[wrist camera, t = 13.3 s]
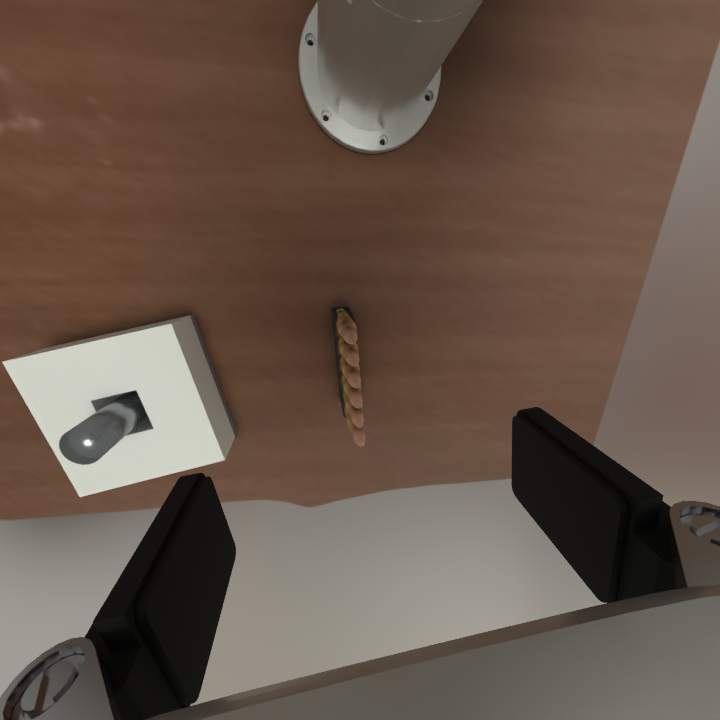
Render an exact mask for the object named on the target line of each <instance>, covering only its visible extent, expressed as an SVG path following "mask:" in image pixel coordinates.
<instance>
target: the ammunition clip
mask: <svg viewBox="0 0 720 720" xmlns="http://www.w3.org/2000/svg"><path fill="white" fill-rule="evenodd" d="M332 318H333V328H334V339H335V349H336V359H337V369H338V380H339V390H340V399H341V404H342V410H343V415H344V417H346V421H347V425H348V427H349V428H350V431H351V434H352V437H353V439H354V441H355V443H356V444H357V445H358V446H359V447H363V446H364V443H365V430H364V414H363V409H362V393H361V376H360V367H359V364H358V363H359V354H358V346H357V344H356V341H357V339H358V335H357V327H356V325H355V320H354V316H353V314H352V312H351V310H350V309H349V307H340V308H332Z"/></svg>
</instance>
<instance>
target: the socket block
mask: <svg viewBox="0 0 720 720" xmlns="http://www.w3.org/2000/svg"><path fill="white" fill-rule="evenodd" d="M2 363H3V364H4V366H5V368H6V370H7V371H8V373H9V375H10V377H11V378H12V380H13V382H14V383H15V385H16V387H17V389H18V390H19V392H20V394H21V396H22V397H23V399H24V401H25V403H26V404H27V406H28V408H29V410H30V411H31V413H32V415H33V416H34V418H35V420H36V422H37V423H38V425H39V427H40V429H41V430H42V432H43V434H44V436H45V437H46V439H47V441H48V443H49V444H50V446H51V448H52V450H53V451H54V453H55V455H56V456H57V458H58V460H59V462H60V463H61V465H62V467H63V469H64V470H65V472H66V474H67V476H68V477H69V479H70V481H71V483H72V484H73V486H74V488H75V489H76V491H77V493H78V495H79V496H80V497H82V496H86V495H90V494H94V493H98V492H102V491H106V490H110V489H113V488H117V487H121V486H125V485H129V484H133V483H137V482H141V481H145V480H149V479H153V478H157V477H160V476H164V475H168V474H172V473H176V472H180V471H184V470H188V469H192V468H196V467H200V466H204V465H208V464H211V463H215V462H219V461H223V460H225V459H226V456H227V454H228V452H229V450H230V448H231V445H232V443H233V441H234V439H235V436H236V434H237V431H236V428H235V425H234V423H233V420H232V417H231V415H230V412H229V409H228V406H227V404H226V401H225V398H224V396H223V393H222V390H221V388H220V385H219V382H218V379H217V377H216V374H215V371H214V369H213V366H212V363H211V360H210V358H209V355H208V352H207V350H206V347H205V344H204V341H203V339H202V336H201V333H200V331H199V328H198V325H197V322H196V320H195V317H194V314H191V315H187V316H182V317H178V318H174V319H169V320H165V321H160V322H156V323H151V324H147V325H143V326H138V327H134V328H129V329H125V330H120V331H116V332H112V333H107V334H103V335H98V336H94V337H89V338H85V339H81V340H76V341H72V342H67V343H63V344H58V345H54V346H50V347H47V348H44V349H41V350H38V351H35V352H31V353H28V354H25V355H22V356H19V357H16V358H13V359H10V360H6V361H3V362H2ZM134 390H136V391H137V393H138V395H139V397H140V400H141V402H142V404H143V406H144V408H145V411H146V413H147V415H148V416H147V417H146V418H145V419H144V420H142V421H141V422H140V423H139V424H138V425H137V426H136V427H135V428H134V429H132V430H131V431H130V432H129V433H128V434H127V435H126V436H125V437H123V438H122V439H121V440H120V441H119V442H118V443H117V444H116V445H115V446H113V447H112V448H111V449H110V450H109V451H108V452H107V453H106V454H105V455H103V456H102V457H101V458H100V459H99V460H98V461H96V462H95V463H92V464H88V465H81V464H76V463H73V462H71V461H69V460H68V459H66V458H65V457H64V456H63V454H62V453H61V451H60V448H59V441H60V438H61V437H62V435H63V434H65V433H66V432H67V431H69V430H70V429H72V428H73V427H75V426H76V425H78V424H79V423H81V422H82V421H84V420H85V419H87V418H88V417H90V416H91V415H93V414H94V413H96V412H97V411H99V410H100V409H102V408H103V407H105V406H106V405H108V404H109V403H111V402H112V401H113V400H115V399H116V398H118V397H119V396H121V395H122V394H124V393H126V392H130V391H134Z"/></svg>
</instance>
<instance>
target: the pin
mask: <svg viewBox="0 0 720 720" xmlns="http://www.w3.org/2000/svg"><path fill="white" fill-rule="evenodd" d="M147 416H148V415H147V413H146V411H145V408H144V406H143V404H142V402H141V400H140V397H139V395H138V393H137V391H136V390H134V391H130V392H126V393H124V394H122V395H121V396H119V397H118V398H116V399H115V400H113V401H112V402H111V403H109V404H108V405H106V406H105V407H103V408H102V409H100V410H99V411H97V412H96V413H94V414H93V415H91V416H90V417H88V418H87V419H85V420H84V421H82V422H81V423H79V424H78V425H76V426H75V427H73V428H72V429H70V430H69V431H67V432H66V433H65V434H63V435H62V437H61V438H60V441H59V448H60V451H61V453H62V454H63V456H64V457H65V458H66V459H68V460H69V461H71V462H73V463H76V464H81V465H88V464H92V463H95V462H96V461H98V460H99V459H100V458H101V457H102V456H103V455H105V454H106V453H107V452H108V451H109V450H110V449H111V448H112V447H113V446H115V445H116V444H117V443H118V442H119V441H120V440H121V439H122V438H123V437H125V436H126V435H127V434H128V433H129V432H130V431H131V430H132V429H134V428H135V427H136V426H137V425H138V424H139V423H140V422H141V421H142V420H144V419H145V418H146V417H147Z"/></svg>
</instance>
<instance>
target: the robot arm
mask: <svg viewBox="0 0 720 720" xmlns="http://www.w3.org/2000/svg"><path fill="white" fill-rule="evenodd" d="M482 2H483V0H318V1H317V2H316V4H315V5H314V7H313V9H312V10H311V12H310V14H309V15H308V17H307V20H306V23H305V25H304V28H303V31H302V35H301V40H300V46H299V75H300V82H301V86H302V91H303V95H304V98H305V100H306V103H307V106H308V108H309V110H310V112H311V114H312V115H313V117H314V119H315V120H316V122H317V124H318V125H319V126H320V127H321V128H322V129H323V131H324V132H325V133H326V134H327V135H328V136H329V137H330V138H332V139H333V140H334V141H335V142H337V143H338V144H340V145H342V146H344V147H345V148H347V149H349V150H352V151H356V152H359V153H365V154H379V153H386V152H389V151H391V150H394V149H397V148H399V147H400V146H402V145H403V144H405V143H406V142H408V141H409V140H410V139H411V138H412V137H413V136H414V135H415V134H416V133H417V132H418V131H419V130H420V129H421V127H422V126H423V125H424V124H425V122H426V121H427V119H428V117H429V115H430V114H431V112H432V110H433V107H434V105H435V102H436V100H437V97H438V92H439V87H440V82H441V65H442V64H443V62H444V61H445V59H446V58H447V56H448V54H449V53H450V51H451V50H452V48H453V47H454V45H455V44H456V42H457V40H458V39H459V37H460V36H461V34H462V33H463V31H464V30H465V28H466V27H467V25H468V23H469V22H470V20H471V19H472V17H473V16H474V14H475V13H476V11H477V9H478V8H479V6H480V5H481V3H482ZM309 43H312V44H313V46H309V45H308V44H309ZM425 97H426V98H428V101H426V100H425ZM323 117H327V118H328V119H329V120H328V121H324V120H323ZM380 141H383V142H384V145H383V146H382V145H381V144H380ZM512 490H513V492H514V495H515V496H516V498H517V499H518V500H519V502H520V503H521V504H522V505H523V507H524V508H525V509H526V510H527V512H528V513H529V514H530V515H531V517H532V518H533V519H534V520H535V522H536V523H537V524H538V525H539V527H540V528H541V529H542V530H543V531H544V533H545V534H546V535H547V536H548V538H549V539H550V540H551V541H552V543H553V544H554V545H555V546H556V548H557V549H558V550H559V551H560V553H561V554H562V555H563V556H564V558H565V559H566V560H567V561H568V563H569V564H570V565H571V566H572V567H573V569H574V570H575V571H576V572H577V574H578V575H579V576H580V578H581V579H582V580H583V581H584V582H585V584H586V585H587V586H588V587H589V589H590V590H591V591H592V592H593V594H594V595H595V596H596V597H597V598H598V599H599V600H600V601H601V602H604V603H606V602H607V604H602V605H598V606H593V607H589V608H585V609H581V610H576V611H572V612H568V613H564V614H560V615H555V616H552V617H547V618H543V619H539V620H534V621H530V622H526V623H522V624H518V625H514V626H509V627H505V628H501V629H497V630H493V631H488V632H484V633H480V634H476V635H472V636H468V637H463V638H459V639H455V640H451V641H447V642H443V643H439V644H435V645H430V646H427V647H422V648H419V649H414V650H410V651H406V652H402V653H398V654H394V655H390V656H386V657H382V658H378V659H373V660H369V661H366V662H361V663H357V664H353V665H349V666H345V667H341V668H337V669H333V670H329V671H325V672H321V673H317V674H314V675H309V676H305V677H302V678H297V679H293V680H289V681H286V682H281V683H277V684H273V685H269V686H265V687H261V688H257V689H253V690H249V691H245V692H241V693H238V694H234V695H230V696H227V697H223V698H219V699H216V700H212V701H208V702H204V703H201V704H198V705H193V706H190V704H192V703H195V702H196V701H197V699H198V697H199V693H200V690H201V687H202V683H203V679H204V675H205V671H206V667H207V664H208V660H209V656H210V652H211V649H212V645H213V641H214V637H215V633H216V629H217V626H218V622H219V618H220V614H221V610H222V607H223V603H224V599H225V595H226V591H227V588H228V584H229V580H230V576H231V572H232V568H233V565H234V561H235V556H236V547H235V543H234V540H233V537H232V535H231V532H230V529H229V526H228V523H227V520H226V518H225V515H224V512H223V509H222V506H221V504H220V501H219V498H218V495H217V492H216V490H215V487H214V484H213V481H212V479H211V478H210V477H209V476H208V477H205V475H204V474H203V473H197V474H192V475H187V476H182V477H180V478H179V479H178V481H177V482H176V484H175V486H174V487H173V489H172V491H171V492H170V494H169V496H168V497H167V499H166V501H165V502H164V504H163V506H162V507H161V509H160V511H159V513H158V514H157V516H156V517H155V519H154V521H153V523H152V524H151V526H150V527H149V529H148V531H147V532H146V534H145V536H144V537H143V539H142V541H141V542H140V544H139V546H138V547H137V549H136V551H135V553H134V554H133V556H132V558H131V559H130V561H129V563H128V564H127V566H126V567H125V569H124V571H123V573H122V574H121V576H120V578H119V579H118V581H117V583H116V584H115V586H114V588H113V589H112V591H111V592H110V594H109V596H108V598H107V599H106V601H105V602H104V604H103V606H102V607H101V609H100V611H99V612H98V614H97V616H96V617H95V619H94V621H93V624H92V626H91V627H90V629H89V631H88V633H87V634H86V636H85V638H83V637H79V638H72V639H69V640H66V641H64V642H62V643H59V644H57V645H55V646H54V647H52V648H51V649H49V650H47V651H46V652H44V653H42V654H41V655H40V656H39V657H37V658H36V659H35V660H34V661H33V662H31V663H30V664H29V665H28V666H27V667H26V668H25V669H24V670H23V671H22V672H21V673H20V674H19V675H18V676H17V677H16V678H15V679H14V680H13V681H12V682H11V684H10V685H9V686H8V688H7V689H6V690H5V692H4V693H3V694H2V695H1V697H0V720H720V506H716V505H713V504H709V503H705V502H698V501H682V502H679V503H676V504H674V505H673V506H672V507H670V506H669V505H667V504H666V503H664V502H663V501H662V499H663V495H662V494H660V493H659V492H658V491H656V490H655V489H653V488H652V487H651V486H649V485H648V484H646V483H645V482H643V481H642V480H641V479H639V478H638V477H637V476H635V475H634V474H632V473H631V472H630V471H628V470H627V469H625V468H624V467H622V466H621V465H620V464H618V463H617V462H615V461H614V460H612V459H611V458H610V457H608V456H607V455H606V454H604V453H603V452H601V451H600V450H598V449H597V448H596V447H594V446H593V445H592V444H590V443H589V442H587V441H586V440H584V439H583V438H582V437H580V436H579V435H577V434H576V433H575V432H573V431H572V430H570V429H569V428H568V427H566V426H565V425H563V424H562V423H561V422H559V421H558V420H556V419H555V418H554V417H552V416H551V415H549V414H548V413H546V412H545V411H544V410H542V409H541V408H539V407H534V408H529V409H524V410H519V411H518V412H517V416H514V417H513V420H512Z"/></svg>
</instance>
